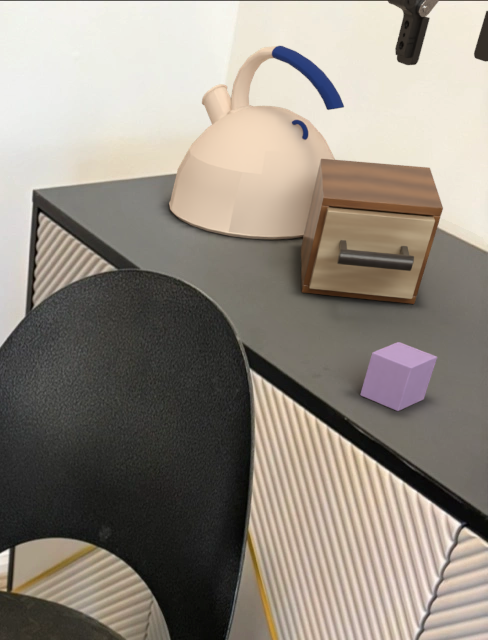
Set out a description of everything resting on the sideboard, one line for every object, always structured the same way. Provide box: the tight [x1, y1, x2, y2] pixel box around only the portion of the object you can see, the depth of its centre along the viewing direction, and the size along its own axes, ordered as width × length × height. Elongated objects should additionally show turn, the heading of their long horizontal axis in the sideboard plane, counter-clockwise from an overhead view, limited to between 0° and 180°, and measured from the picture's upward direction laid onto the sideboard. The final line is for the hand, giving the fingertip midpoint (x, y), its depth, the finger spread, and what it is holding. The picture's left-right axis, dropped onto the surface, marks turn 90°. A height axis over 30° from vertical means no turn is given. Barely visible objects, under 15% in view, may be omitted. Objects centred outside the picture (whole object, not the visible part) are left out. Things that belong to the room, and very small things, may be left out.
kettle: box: [168, 45, 345, 240], centre depth 132 cm, size 20×21×18 cm
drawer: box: [309, 206, 435, 299], centre depth 117 cm, size 18×10×8 cm, turn 167°
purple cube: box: [359, 341, 438, 412], centre depth 98 cm, size 4×4×4 cm
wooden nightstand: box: [300, 159, 444, 305], centre depth 120 cm, size 15×12×10 cm
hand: (445, 61), depth 101 cm, fingers open, 8 cm apart
